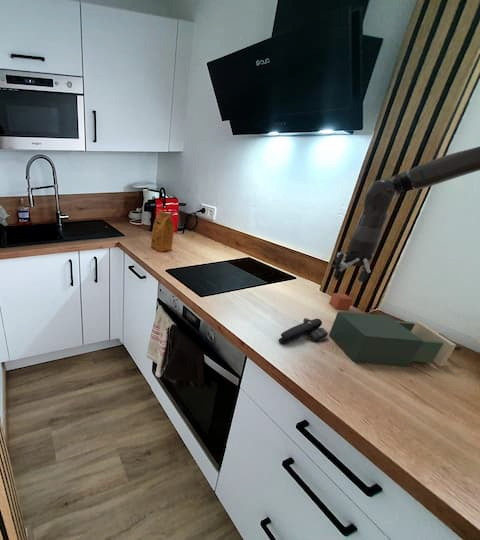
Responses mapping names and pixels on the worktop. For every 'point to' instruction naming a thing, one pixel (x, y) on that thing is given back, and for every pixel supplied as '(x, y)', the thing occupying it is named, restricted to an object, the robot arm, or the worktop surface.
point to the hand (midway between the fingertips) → (348, 280)
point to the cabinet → (374, 339)
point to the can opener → (304, 331)
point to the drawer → (431, 344)
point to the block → (340, 301)
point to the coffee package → (162, 232)
